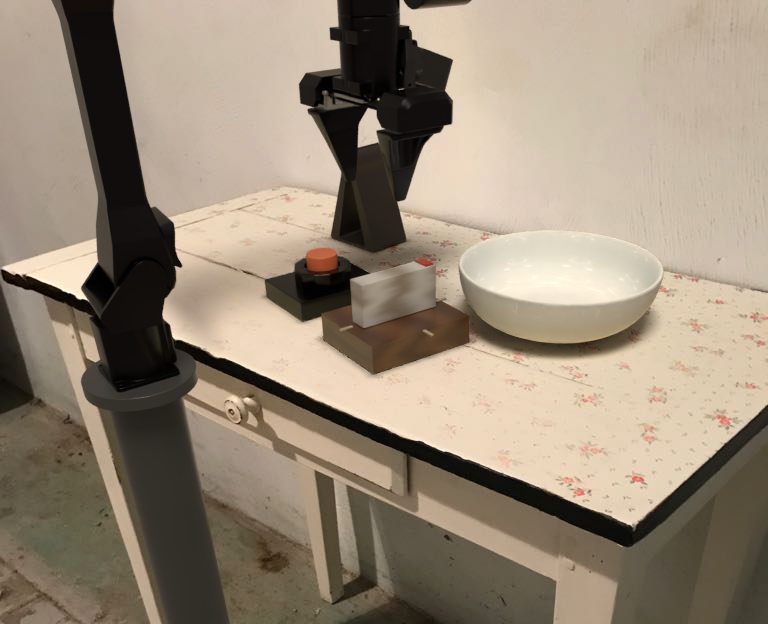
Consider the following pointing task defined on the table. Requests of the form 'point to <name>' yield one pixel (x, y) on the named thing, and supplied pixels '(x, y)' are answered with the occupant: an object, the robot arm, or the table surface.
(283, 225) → the table surface
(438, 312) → the brown wooden block base
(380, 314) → the silver metal brick
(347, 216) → the phone stand
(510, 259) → the serving bowl
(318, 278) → the button block
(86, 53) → the robot arm
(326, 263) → the button
